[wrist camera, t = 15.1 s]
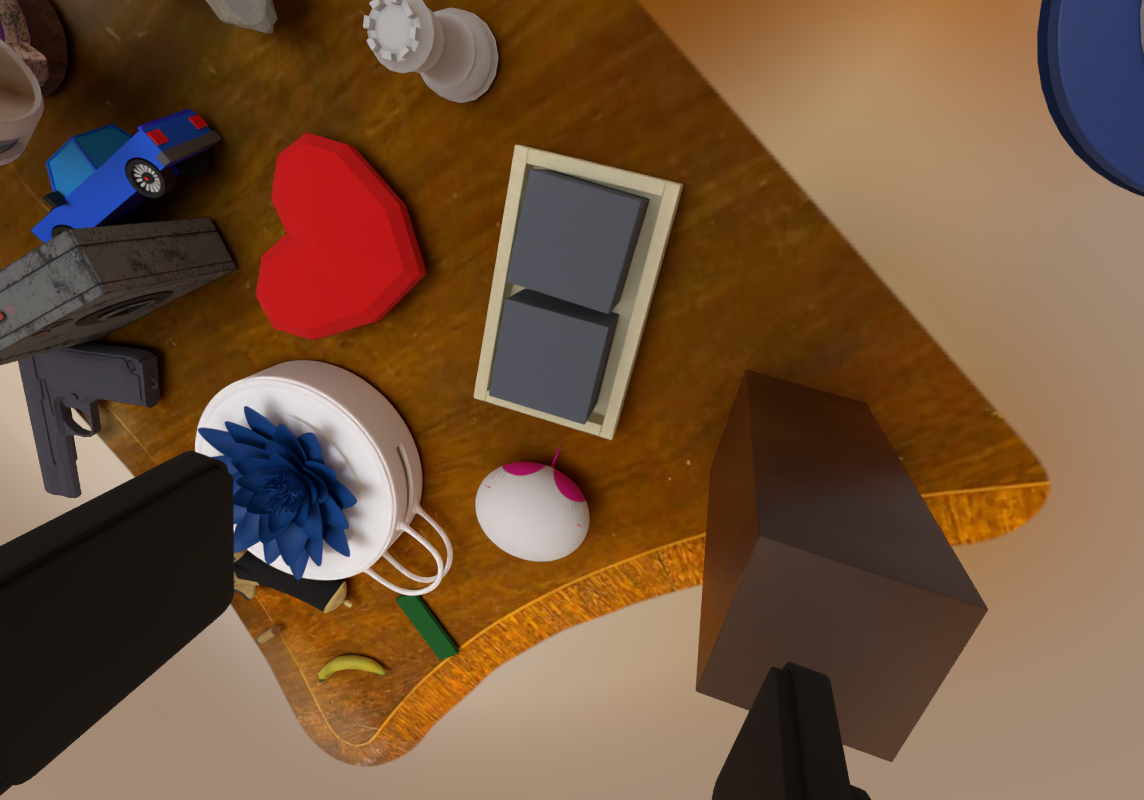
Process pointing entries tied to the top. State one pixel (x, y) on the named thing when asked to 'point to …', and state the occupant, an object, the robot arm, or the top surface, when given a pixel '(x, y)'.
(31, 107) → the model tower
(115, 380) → the handgun
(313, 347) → the top surface
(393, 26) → the rook chess piece
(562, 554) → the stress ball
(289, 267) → the heart
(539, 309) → the seated pad
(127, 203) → the toy car
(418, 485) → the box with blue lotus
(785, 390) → the stand
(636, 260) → the frame
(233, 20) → the grey irregular lump
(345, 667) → the fruit
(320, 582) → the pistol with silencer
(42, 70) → the mug
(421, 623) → the green plastic strip
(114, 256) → the camera
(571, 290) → the loose pad
